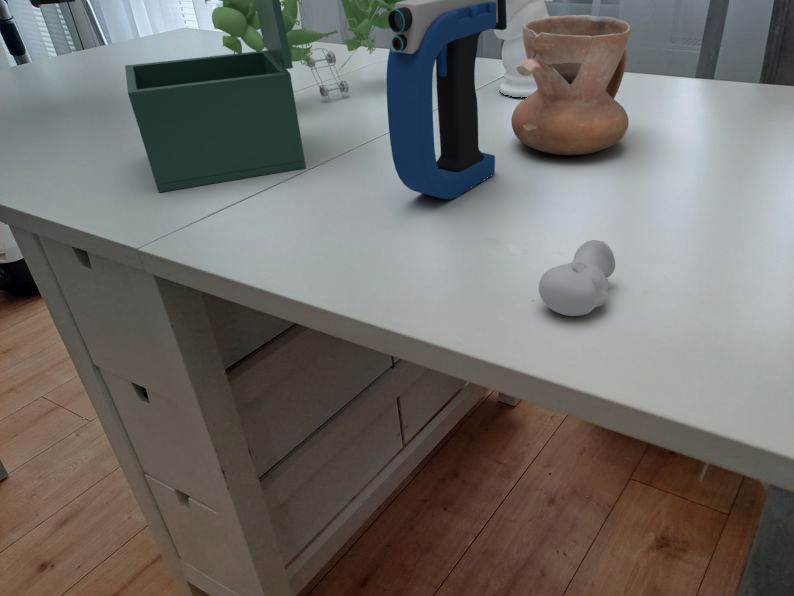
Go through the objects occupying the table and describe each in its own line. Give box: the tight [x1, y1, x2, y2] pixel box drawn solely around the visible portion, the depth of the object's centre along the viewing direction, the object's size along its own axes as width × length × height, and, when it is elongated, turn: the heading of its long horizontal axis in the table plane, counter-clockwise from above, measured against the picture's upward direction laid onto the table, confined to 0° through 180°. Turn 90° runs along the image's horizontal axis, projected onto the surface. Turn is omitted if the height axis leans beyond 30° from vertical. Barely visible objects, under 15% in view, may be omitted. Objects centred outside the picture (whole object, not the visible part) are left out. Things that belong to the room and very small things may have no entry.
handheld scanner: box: [386, 0, 507, 200], centre depth 68 cm, size 5×16×20 cm, turn 146°
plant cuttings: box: [204, 0, 406, 101], centre depth 103 cm, size 35×17×22 cm
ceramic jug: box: [510, 14, 631, 156], centre depth 81 cm, size 18×14×14 cm
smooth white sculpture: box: [538, 239, 616, 317], centre depth 53 cm, size 4×8×5 cm
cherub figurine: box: [493, 0, 554, 98], centre depth 98 cm, size 12×12×22 cm
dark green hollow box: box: [124, 49, 307, 193], centre depth 79 cm, size 17×13×11 cm
